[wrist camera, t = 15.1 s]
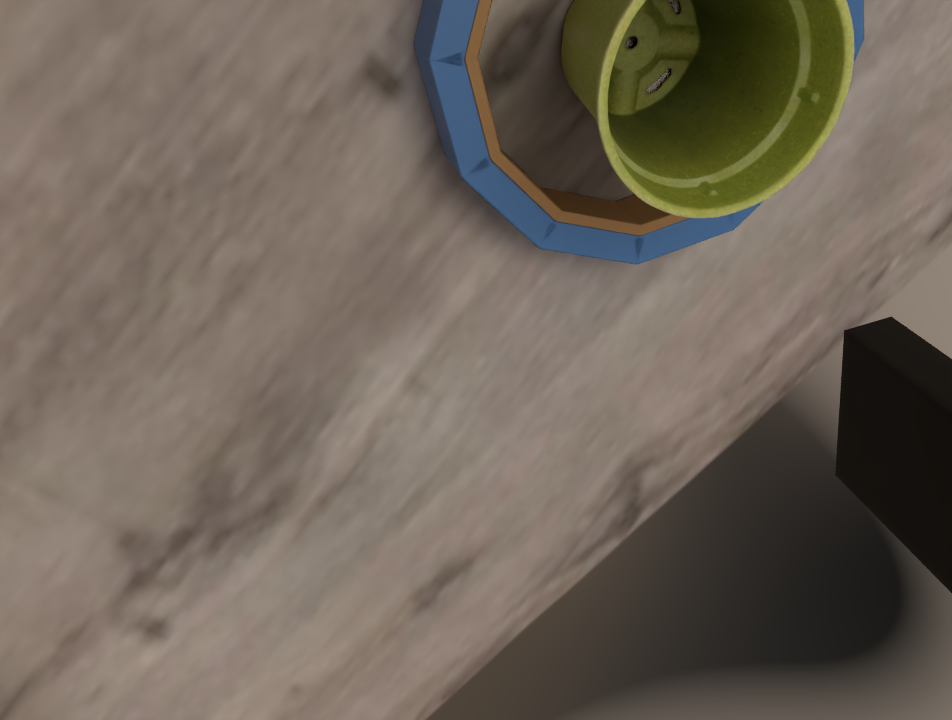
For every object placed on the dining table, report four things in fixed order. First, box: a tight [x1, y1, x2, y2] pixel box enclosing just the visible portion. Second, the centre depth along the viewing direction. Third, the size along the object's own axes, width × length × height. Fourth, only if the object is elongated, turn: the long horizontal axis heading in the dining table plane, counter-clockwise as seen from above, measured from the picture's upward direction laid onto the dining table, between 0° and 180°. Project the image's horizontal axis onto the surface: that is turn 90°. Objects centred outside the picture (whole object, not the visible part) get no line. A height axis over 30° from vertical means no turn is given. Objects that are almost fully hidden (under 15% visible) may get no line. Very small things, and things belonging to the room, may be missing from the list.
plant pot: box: [561, 0, 854, 218], centre depth 34 cm, size 9×9×9 cm
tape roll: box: [414, 0, 864, 264], centre depth 36 cm, size 18×18×3 cm
